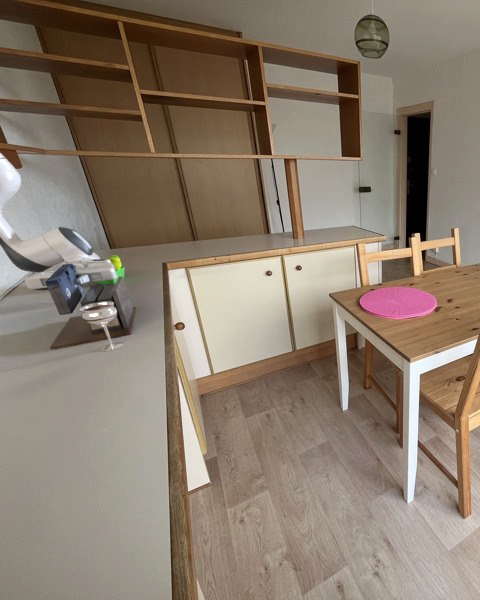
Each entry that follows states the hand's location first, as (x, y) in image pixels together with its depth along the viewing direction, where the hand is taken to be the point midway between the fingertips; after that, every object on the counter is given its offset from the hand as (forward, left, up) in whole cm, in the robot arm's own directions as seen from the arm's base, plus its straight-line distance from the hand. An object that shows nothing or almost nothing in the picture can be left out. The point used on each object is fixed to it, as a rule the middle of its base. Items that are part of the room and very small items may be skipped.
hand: (68, 283), depth 93 cm
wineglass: (+9, -22, -14) cm, 28 cm away
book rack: (+4, -5, -13) cm, 15 cm away
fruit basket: (+2, +49, -14) cm, 51 cm away
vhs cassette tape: (0, -3, -6) cm, 6 cm away
